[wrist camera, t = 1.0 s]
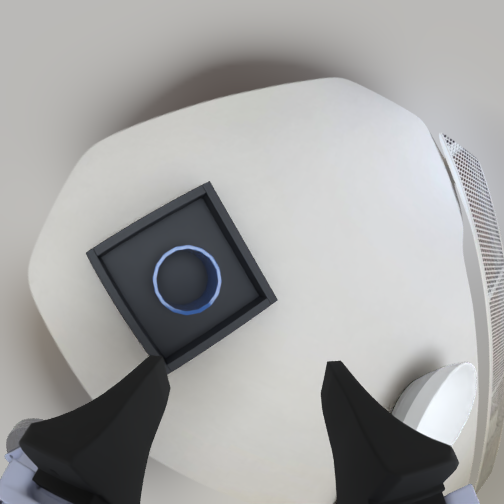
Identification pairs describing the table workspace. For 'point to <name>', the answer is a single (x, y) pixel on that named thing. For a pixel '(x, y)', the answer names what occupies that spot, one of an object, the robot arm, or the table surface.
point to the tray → (181, 276)
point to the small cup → (211, 287)
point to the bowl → (439, 402)
